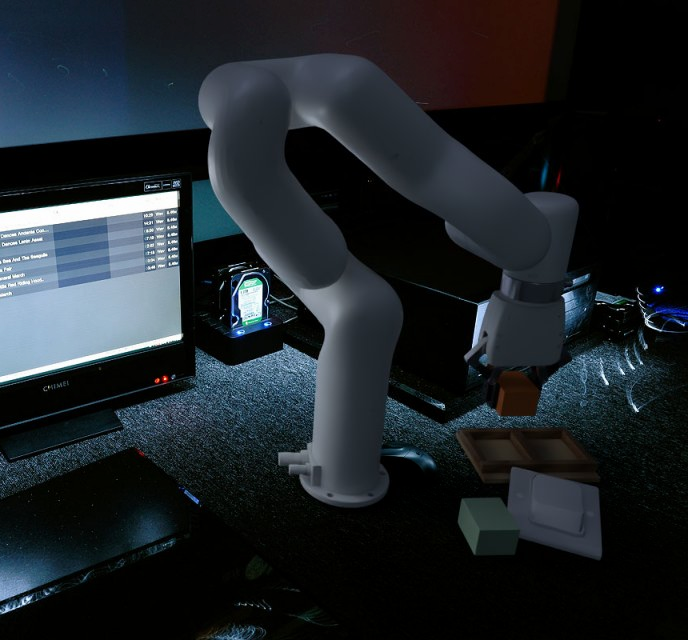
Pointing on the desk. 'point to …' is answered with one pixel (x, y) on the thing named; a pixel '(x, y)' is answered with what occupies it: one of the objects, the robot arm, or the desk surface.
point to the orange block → (516, 395)
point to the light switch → (556, 512)
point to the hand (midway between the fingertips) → (509, 402)
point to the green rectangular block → (488, 526)
